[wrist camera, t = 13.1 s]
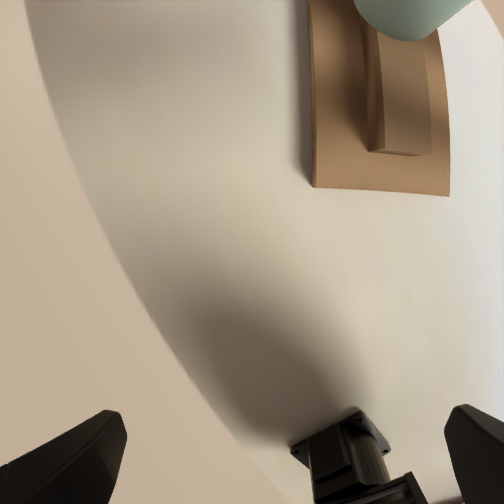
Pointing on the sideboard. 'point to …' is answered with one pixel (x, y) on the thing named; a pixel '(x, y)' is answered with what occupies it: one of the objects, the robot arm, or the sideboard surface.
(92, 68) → the sideboard surface
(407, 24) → the dowel
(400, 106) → the ridge stand
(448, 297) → the sideboard surface
